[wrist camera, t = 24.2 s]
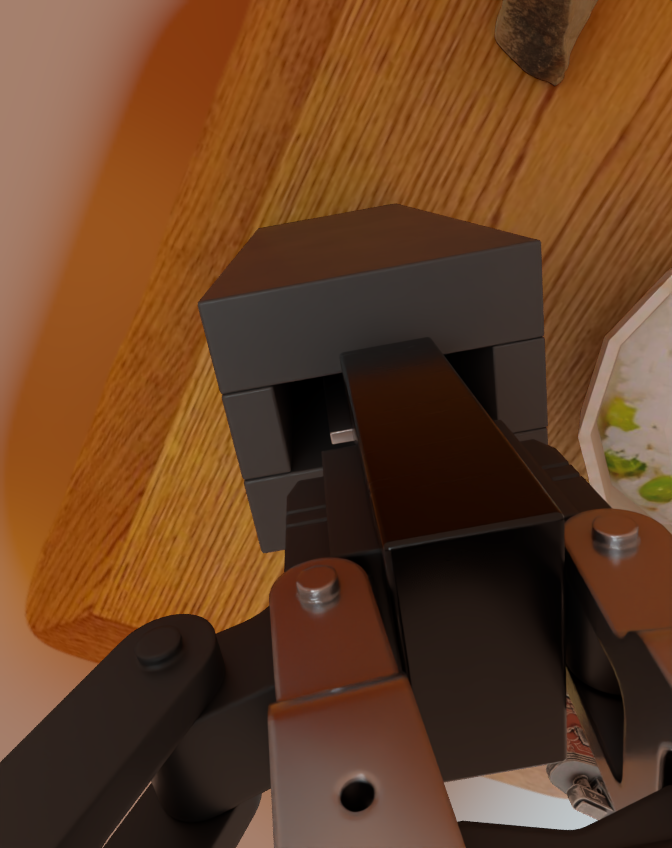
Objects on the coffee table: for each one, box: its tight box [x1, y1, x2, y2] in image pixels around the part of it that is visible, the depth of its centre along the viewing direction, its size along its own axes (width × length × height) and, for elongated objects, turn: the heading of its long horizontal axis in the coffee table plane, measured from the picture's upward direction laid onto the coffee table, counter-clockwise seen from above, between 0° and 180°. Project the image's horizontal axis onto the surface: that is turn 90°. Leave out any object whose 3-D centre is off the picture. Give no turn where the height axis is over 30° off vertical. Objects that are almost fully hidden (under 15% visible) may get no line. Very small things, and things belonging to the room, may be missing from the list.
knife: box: [323, 337, 567, 782], centre depth 15 cm, size 3×4×17 cm
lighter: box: [546, 690, 615, 820], centre depth 45 cm, size 8×3×10 cm, turn 57°
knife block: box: [198, 204, 548, 553], centre depth 25 cm, size 8×7×22 cm
